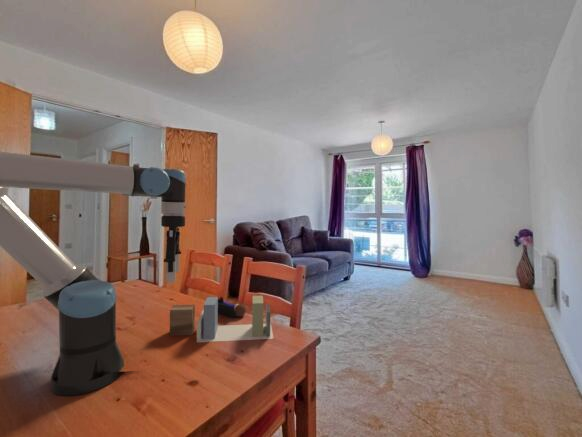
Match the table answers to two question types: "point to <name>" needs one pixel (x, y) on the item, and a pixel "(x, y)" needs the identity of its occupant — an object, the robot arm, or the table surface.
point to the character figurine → (230, 309)
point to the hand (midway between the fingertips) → (173, 276)
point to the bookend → (267, 319)
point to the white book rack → (230, 332)
